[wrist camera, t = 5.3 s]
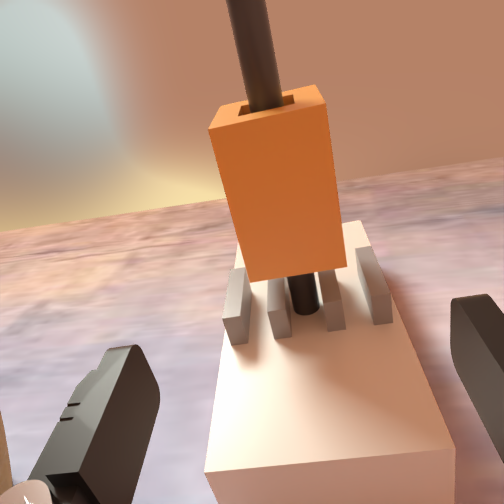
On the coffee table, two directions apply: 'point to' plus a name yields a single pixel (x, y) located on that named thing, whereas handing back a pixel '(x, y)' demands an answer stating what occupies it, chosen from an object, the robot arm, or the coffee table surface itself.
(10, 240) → the coffee table surface
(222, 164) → the sleeve
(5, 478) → the plant pot
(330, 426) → the stand
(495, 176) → the coffee table surface
